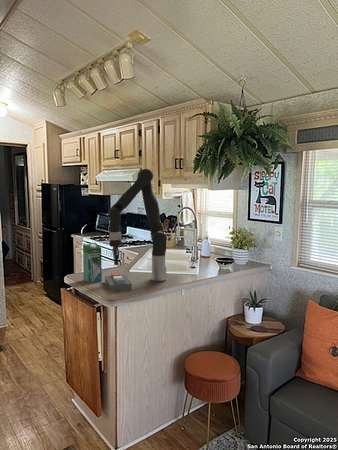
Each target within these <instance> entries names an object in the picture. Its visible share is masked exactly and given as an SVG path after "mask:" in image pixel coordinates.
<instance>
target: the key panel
mask: <svg viewBox="0 0 338 450" xmlns="http://www.w3.org/2000/svg"><path fill="white" fill-rule="evenodd" d="M120 276H121V277H122V278H124V279H125V284H119V285H116V284H115V281H114V280H113V278H112V277H111V275H105V276H104V283H105V285H106V287H107V288H108V290H109V292H110V293H117V292H118V293H119V292H125V291H128V292H129V291H132V288H133V287H132V286H133V284H132V282H131V280H129V279H128V277H127V276H126V274H120Z"/></svg>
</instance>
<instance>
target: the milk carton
mask: <svg viewBox="0 0 338 450" xmlns="http://www.w3.org/2000/svg"><path fill="white" fill-rule="evenodd" d="M82 253H83V254H82V260H83V261H82V262H83V263H82V264H83V266H82V267H83V281H84V282H86V283H88V284H95V283H100V282H102V279H103V278H102V277H103V275H102V247H101V246H100V245H99V244H98V243H96V242H89V243H82Z"/></svg>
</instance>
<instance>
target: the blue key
mask: <svg viewBox="0 0 338 450" xmlns="http://www.w3.org/2000/svg"><path fill="white" fill-rule="evenodd" d="M115 284H116V285H119V284H125V279H124V278H115Z"/></svg>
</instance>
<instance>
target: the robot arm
mask: <svg viewBox="0 0 338 450" xmlns="http://www.w3.org/2000/svg"><path fill="white" fill-rule="evenodd" d="M153 179H154V173H153V171H152V170H151V169H149V168H144V169H140V170H139V171H138V172H137V179H136V180H135V181H134V183H133V184H132V185H131V186H130V187H129V188H128V189H127V190H126V191H124V193H122V195H121V196H120V197H119V199H118V200H117V202H115V203H114V204H113V205H112V206H111V207H110V209H109V210H108V213H107V214H108V216H109V226H108V227H109V228H108V229H109V230H108V231H109V233H108V236H109V237H108V239H109V241H108V242H109V246H110V247H111V251H112V258H113V265H114V266H118V265H119V259H120V258H119V257H120V249H119V247H121V246H122V233H121V232H122V231H121V218H122V217H121V216H122V212H124V211H123V210H124V209H126V208H127V207H128V206H129V205H130V204H131V203H132V202H133V200H134V199H135V198H136V197H137V196H138V194H139V193H140V192H142V193H141V194H142V199H143V200H142V201H143V206H144V210H145V214H146V217H147V221H148V224H149V230H150V239H151V241H152V250H151V280H152V281H154V282H163V281H167V265H166V252H167V235H166V234H165V233H164V232H163V230H162V225H161V219H160V218H161V213H160V207H159V201H158V198H157V196H156V194H155V193H154V190H153V186H152V185H153V184H152V181H153Z"/></svg>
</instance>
